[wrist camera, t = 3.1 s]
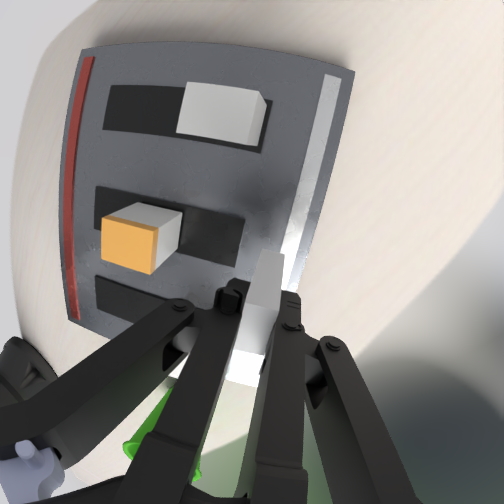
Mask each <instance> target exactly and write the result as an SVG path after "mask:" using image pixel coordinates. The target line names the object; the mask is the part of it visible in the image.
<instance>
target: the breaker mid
mask: <svg viewBox="0 0 504 504" xmlns="http://www.w3.org/2000/svg"><path fill="white" fill-rule="evenodd" d="M181 219H182V212H178V211H173V210H169V209H165V208H160V207H156V206H152V205H147V204H143V203H139V202H137V203H135V204H132V205H130V206H128V207H125V208H123V209H121V210H118V211H116V212H114V213H112V214H109V215H107V216H105V217H103V218H102V229H101V259H103V260H106V261H109V262H112V263H115V264H118V265H121V266H124V267H127V268H130V269H133V270H136V271H139V272H142V273H146V274H149V275H150V274H151V273H153V272H154V271H155V270H156V269H157V268H158V267H159V266H160V265H161V264H162V263H163V262H164V261H165V260H166V259H167V258H168V257H169V256H170V255H171V254H172V253H173V252H174V251H175V250H176V249H178V241H179V233H180V226H181Z"/></svg>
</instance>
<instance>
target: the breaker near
mask: <svg viewBox="0 0 504 504" xmlns="http://www.w3.org/2000/svg"><path fill="white" fill-rule="evenodd" d="M266 107H267V105H266V103H265V101H264V99H263V97H262V96H261V94H260V92H259V91H255V90H249V89H243V88H237V87H230V86H223V85H215V84H206V83H197V82H187V85H186V89H185V93H184V97H183V102H182V106H181V111H180V115H179V120H178V125H177V130H176V133H183V134H189V135H196V136H202V137H208V138H213V139H219V140H224V141H230V142H235V143H240V144H245V145H253V146H257V145H258V141H259V137H260V133H261V128H262V124H263V120H264V116H265V111H266Z"/></svg>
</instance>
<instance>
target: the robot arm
mask: <svg viewBox="0 0 504 504" xmlns="http://www.w3.org/2000/svg"><path fill="white" fill-rule="evenodd" d="M284 261H285V254H281V253H278V252H274V251H270V250H266V249H262V250H261V253H260V256H259V259H258V262H257V266H256V269H255V272H254V275H253V278H252V281H251V282H249V281H245V280H242V279H238V278H232V279H231V280H229V281H228V283H227V285H226V287H220V288H218V289H217V290H216V293H215V298H214V304H213V307H212V308H211V309H207V310H199V309H195V306H194V305H193V303H192V302H190V301H189V300H187V299H184V298H171V299H169V300H167V301H166V302H164V303H163V304H161V305H160V306H159V307H157V308H156V309H154V310H153V311H151V312H150V313H149V314H147V315H146V316H144V317H143V318H142V319H140V320H139V321H137V322H136V323H134V324H133V325H132V326H130V327H129V328H127V329H126V330H125V331H123V332H122V333H120V334H119V335H117V336H116V337H115V338H113V339H112V340H110V341H109V342H108V343H106V344H105V345H103V346H102V347H101V348H99V349H98V350H96V351H95V352H94V353H92V354H91V355H89V356H88V357H87V358H85V359H84V360H82V361H81V362H80V363H78V364H77V365H75V366H74V367H73V368H71V369H70V370H68V371H67V372H66V373H64V374H63V375H61V376H60V377H59V378H57V376H56V375H55V373H54V372H53V370H52V369H51V367H50V366H49V365H48V363H47V362H46V361H45V360H44V359H43V358H42V356H41V355H40V354H39V353H38V352H37V351H36V350H35V349H34V348H33V347H32V346H31V345H29V344H28V343H27V342H26V341H24V340H23V339H21V338H19V337H15V336H14V337H12V338H11V339H9V340H8V341H7V342H6V343H5V345H4V348H3V349H4V350H3V351H2V352H1V354H0V483H1V486H2V488H3V490H4V493H5V495H6V497H7V499H8V502H9V504H307V493H308V473H307V471H306V470H305V469H303V467H302V456H303V454H302V453H303V433H304V432H303V431H304V402H305V403H306V406H307V410H308V414H309V417H310V421H311V424H312V428H313V431H314V435H315V439H316V443H317V446H318V450H319V453H320V457H321V461H322V465H323V468H324V472H325V475H326V479H327V483H328V487H329V490H330V494H331V498H332V502H333V504H423V503H421V501H420V500H419V499H418V498H417V497H416V495H415V493H414V490H413V488H412V485H411V483H410V481H409V478H408V476H407V473H406V471H405V469H404V466H403V464H402V462H401V460H400V457H399V455H398V453H397V450H396V448H395V446H394V444H393V441H392V439H391V437H390V435H389V433H388V430H387V428H386V426H385V424H384V422H383V420H382V417H381V415H380V413H379V411H378V409H377V407H376V405H375V403H374V400H373V399H372V396H371V394H370V392H369V390H368V388H367V386H366V384H365V382H364V380H363V378H362V376H361V374H360V372H359V370H358V368H357V366H356V364H355V362H354V360H353V358H352V356H351V354H350V352H349V350H348V348H347V346H346V344H345V343H344V342H343V341H342V340H340V339H338V338H336V337H333V336H324V337H322V338H321V339H320V341H319V340H316V339H314V338H312V337H310V336H309V335H307V334H306V333H305V329H304V326H303V325H302V324H301V298H300V297H299V295H298V294H297V293H294V292H290V291H286V290H283V289H282V280H283V271H284ZM233 349H236V350H239V351H243V352H247V353H251V354H255V355H259V356H263V357H264V359H263V362H262V365H261V368H260V370H259V373H258V375H260V377H259V382H258V388H257V393H256V398H255V403H254V408H253V413H252V419H251V424H250V428H249V433H248V439H247V443H246V448H245V453H244V457H243V463H242V467H241V472H240V476H239V481H238V485H237V488H236V491H235V494H234V496H233V498H220V497H213V496H211V495H209V494H207V493H205V492H203V491H201V490H199V489H197V488H195V487H194V486H192V485H191V483H192V480H193V477H194V473H195V470H196V467H197V464H198V461H199V458H200V455H201V452H202V449H203V445H204V442H205V439H206V436H207V433H208V430H209V427H210V423H211V420H212V417H213V414H214V411H215V408H216V404H217V401H218V398H219V395H220V392H221V388H222V385H223V382H224V379H225V376H226V372H227V369H228V366H229V363H230V359H231V356H232V352H233ZM189 352H190V354H189ZM188 354H189V356H188ZM264 354H265V356H264ZM187 356H188V358H187V360H186V362H185V364H184V366H183V368H182V370H181V372H180V375H179V377H178V379H177V381H176V383H175V385H174V387H173V389H172V391H171V393H170V395H169V397H168V399H167V401H166V403H165V406H164V408H163V410H162V412H161V414H160V416H159V418H158V420H157V422H156V424H155V426H154V428H153V430H152V431H150V432H147V433H146V435H145V436H144V438H143V440H142V441H141V444H140V446H139V448H138V450H137V452H136V454H135V456H134V458H133V460H132V462H131V464H130V466H129V468H128V470H127V472H126V474H125V475H121V476H117V477H114V478H111V479H108V480H105V481H103V482H100V483H97V484H94V485H91V486H89V487H86V488H82V489H80V490H76V491H73V492H70V493H67V494H63V495H60V496H56V497H52V498H51V494H52V492H53V491H54V490H55V489H57V488H58V487H60V486H61V485H62V483H63V482H64V478H65V473H64V470H66V469H68V468H69V467H71V466H73V465H74V464H76V463H78V462H79V461H80V460H81V459H83V458H84V457H85V456H86V455H87V454H89V453H90V452H91V451H92V450H93V449H94V448H95V447H96V446H97V445H98V444H99V443H100V442H101V441H102V440H103V439H104V438H105V437H106V436H107V435H109V434H110V433H111V432H112V431H113V430H114V429H115V428H116V427H117V426H118V425H119V424H120V423H121V422H122V421H123V420H124V419H125V418H126V417H127V416H128V415H129V414H130V413H131V412H132V411H133V410H134V409H135V408H136V407H137V406H138V405H139V404H140V403H141V402H142V401H143V400H144V399H145V398H146V397H147V396H148V395H149V394H150V393H151V392H152V391H153V390H154V389H155V388H156V387H157V386H158V385H159V384H160V383H161V382H162V381H163V380H164V379H165V378H166V377H167V376H168V375H169V374H170V373H171V372H172V371H173V370H174V369H175V368H176V367H177V366H178V365H179V364H180V363H181V362H182V361H183V360H184V359H185V358H186V357H187Z"/></svg>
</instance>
